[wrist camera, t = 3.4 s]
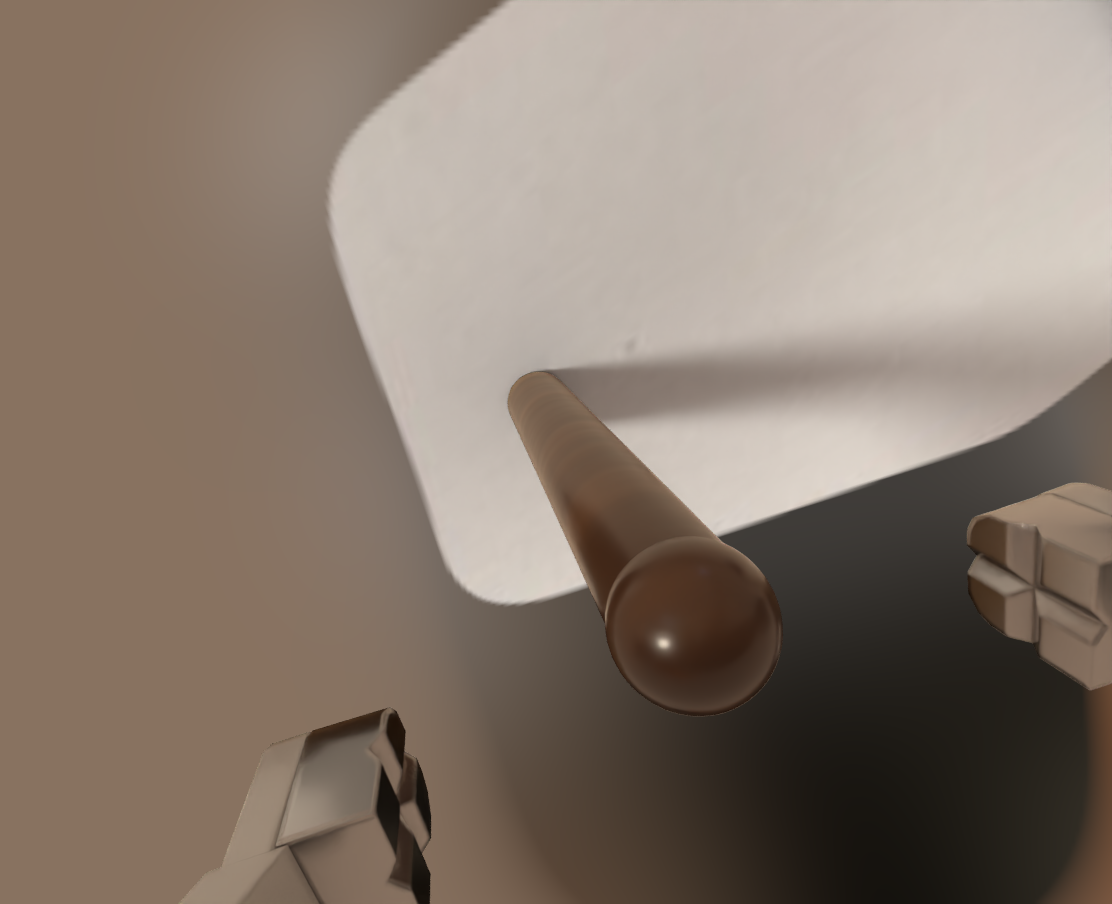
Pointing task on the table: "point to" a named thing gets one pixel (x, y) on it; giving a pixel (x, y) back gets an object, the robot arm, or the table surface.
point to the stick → (649, 562)
